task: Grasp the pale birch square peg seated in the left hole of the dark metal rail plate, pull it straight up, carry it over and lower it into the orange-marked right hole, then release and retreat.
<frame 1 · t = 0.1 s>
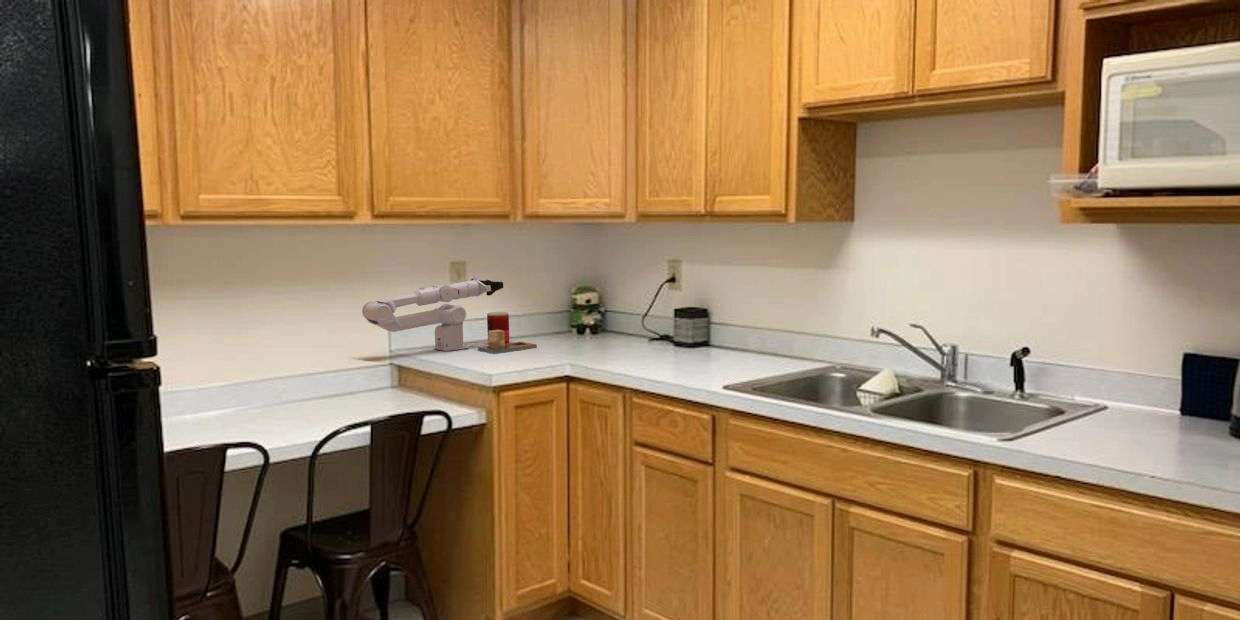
hand: (497, 284, 332), 22 cm above the counter, tool horizontal, fingers open, 7 cm apart
rail plate: (507, 349, 319), on the counter
canned food: (498, 343, 334), on the counter
birch peg: (496, 350, 316), resting in rail plate
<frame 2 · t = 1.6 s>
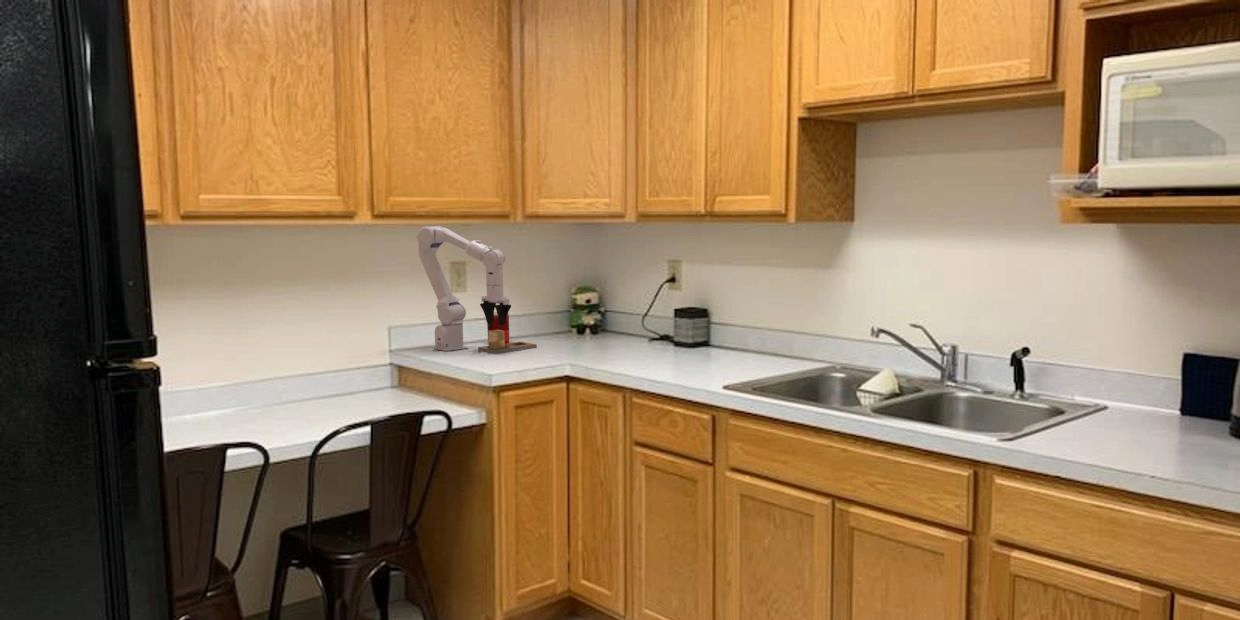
hand: (496, 323, 315), 9 cm above the counter, tool pointing down, fingers open, 7 cm apart
nothing on the counter moved.
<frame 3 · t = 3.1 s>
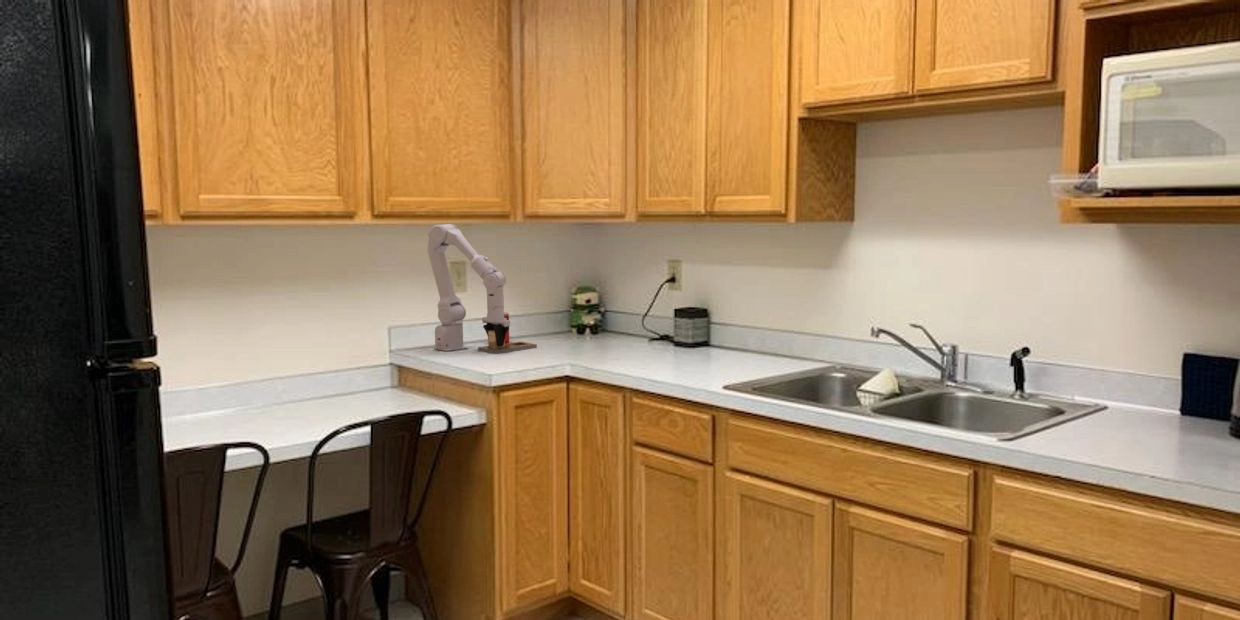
hand: (496, 345, 316), 2 cm above the counter, tool pointing down, fingers closed on birch peg, 4 cm apart
birch peg: (496, 350, 316), resting in rail plate, touching gripper
everything else where it was.
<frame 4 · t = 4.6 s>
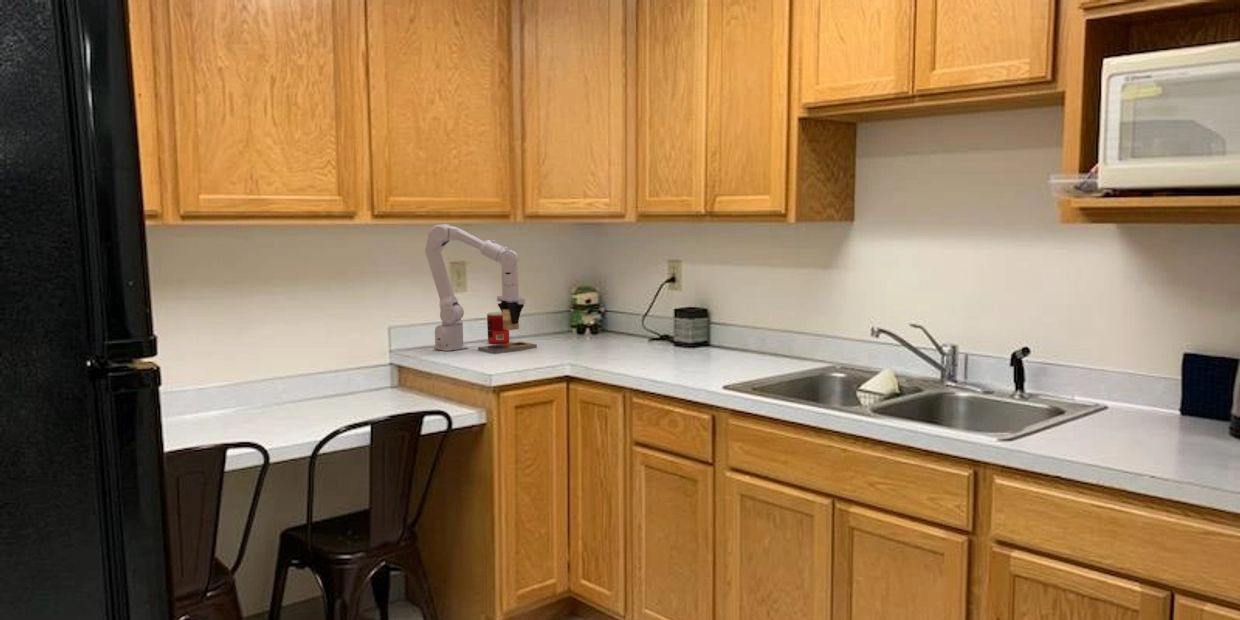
hand: (511, 323, 319), 9 cm above the counter, tool pointing down, fingers closed on birch peg, 4 cm apart
birch peg: (511, 329, 319), point 7 cm above the counter, touching gripper
everything else where it was.
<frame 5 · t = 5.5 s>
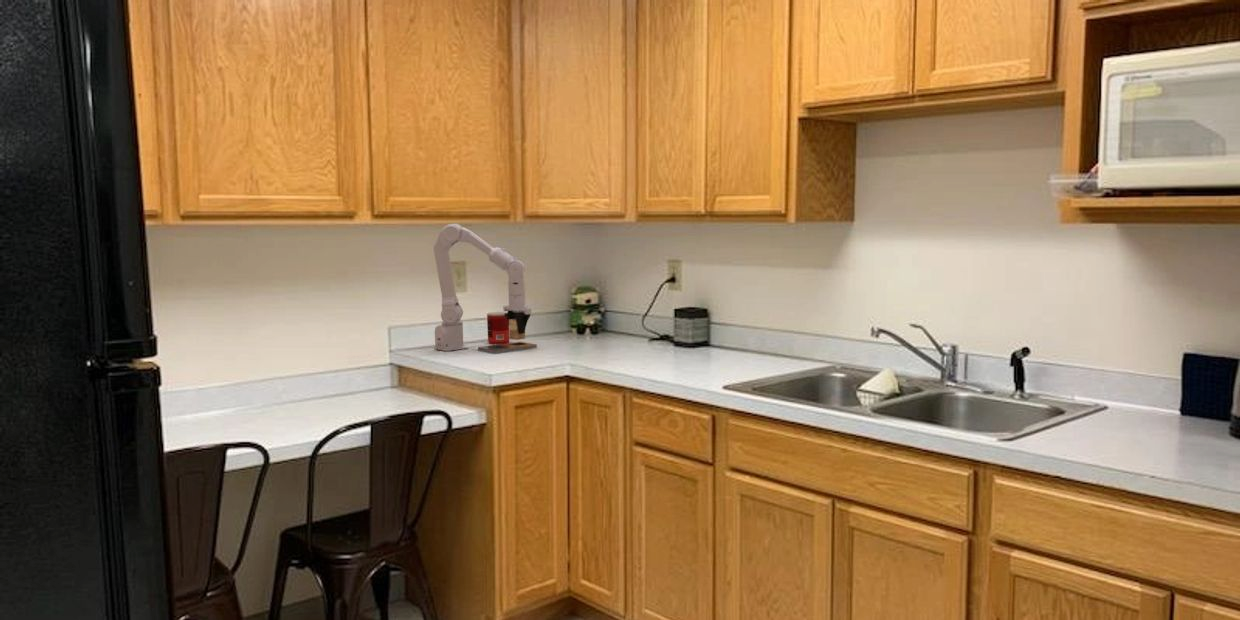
hand: (517, 332, 321), 5 cm above the counter, tool pointing down, fingers closed on birch peg, 4 cm apart
birch peg: (517, 338, 321), point 3 cm above the counter, touching gripper
everything else where it was.
when the fingers open (3 cm above the counter, at t = 6.3 s): birch peg stays where it is, resting in rail plate.
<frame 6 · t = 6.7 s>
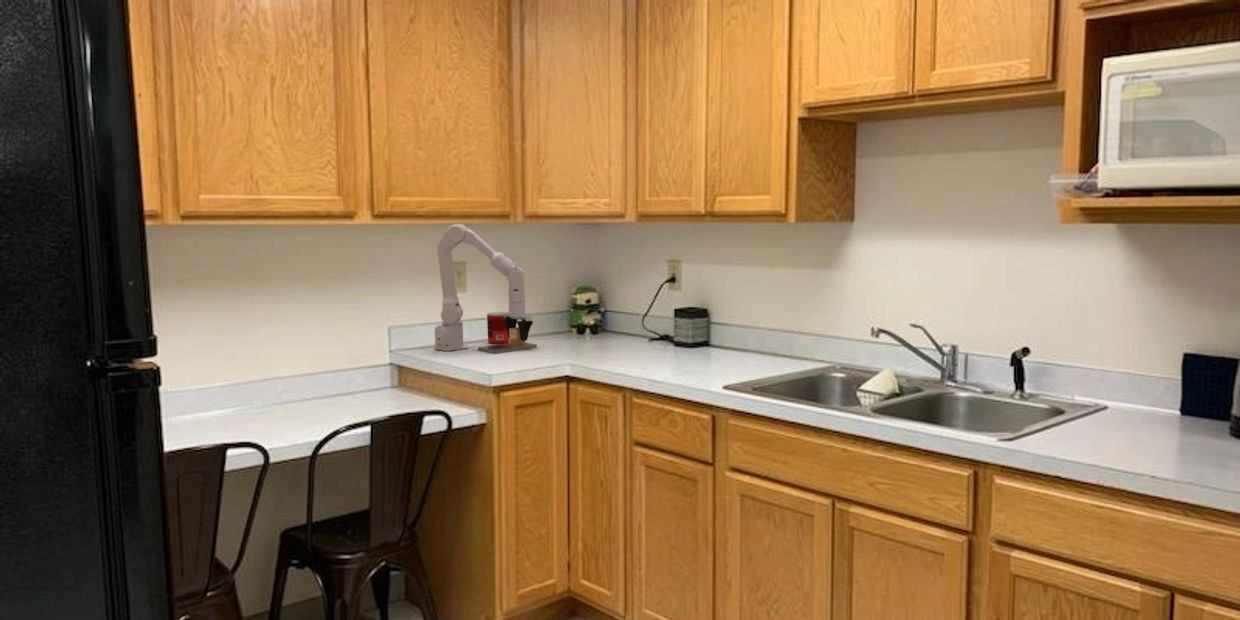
hand: (517, 339, 322), 3 cm above the counter, tool pointing down, fingers open, 7 cm apart
birch peg: (517, 347, 322), resting in rail plate
everything else where it was.
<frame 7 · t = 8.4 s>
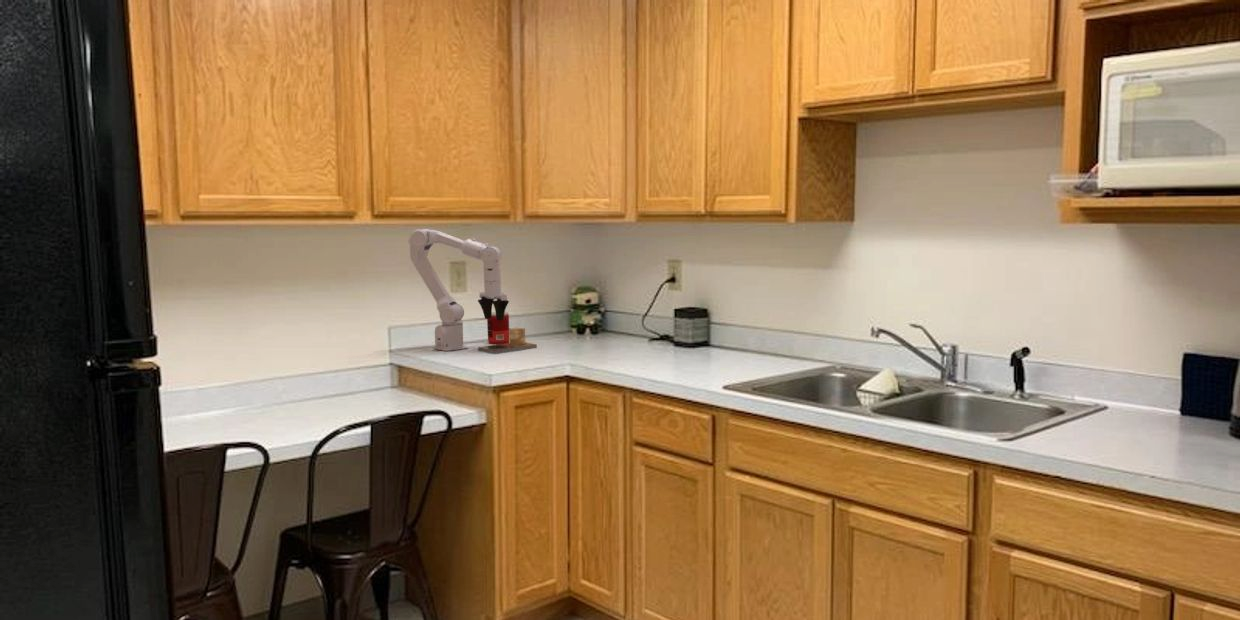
hand: (493, 319, 319), 10 cm above the counter, tool pointing down, fingers open, 7 cm apart
nothing on the counter moved.
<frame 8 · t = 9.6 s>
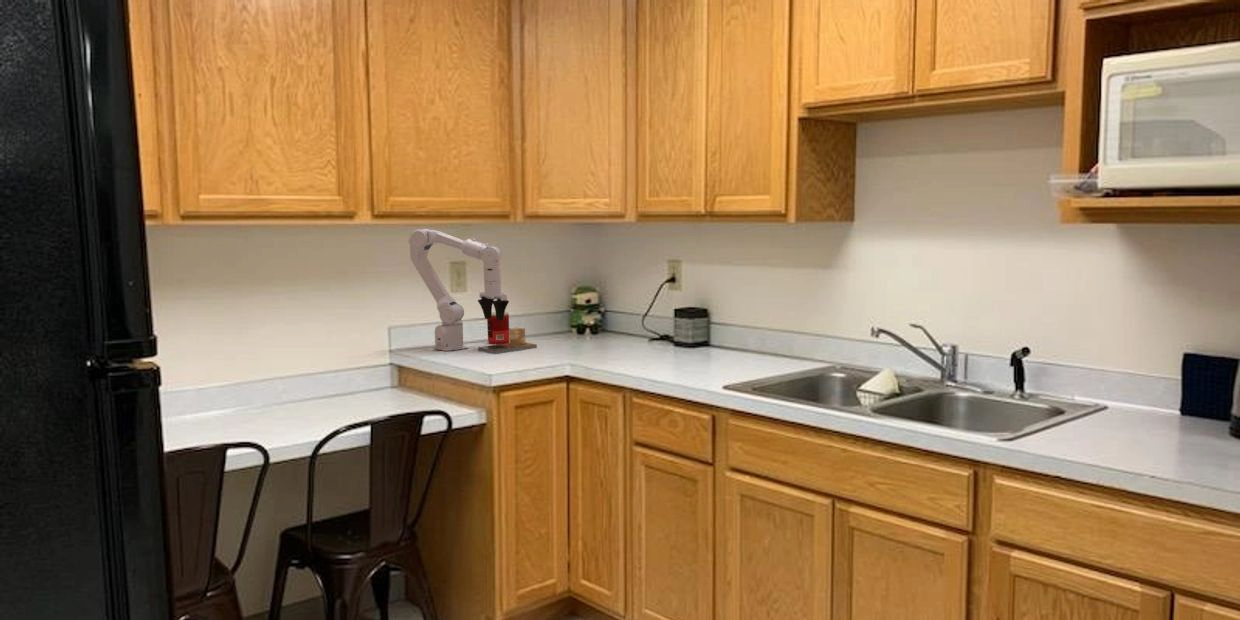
hand: (493, 319, 319), 10 cm above the counter, tool pointing down, fingers open, 7 cm apart
nothing on the counter moved.
at the end: birch peg 0.2 cm from the target spot on the rail plate, point 0.0 cm above the rail plate's base; birch peg tilted 0°; the gripper is holding nothing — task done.
